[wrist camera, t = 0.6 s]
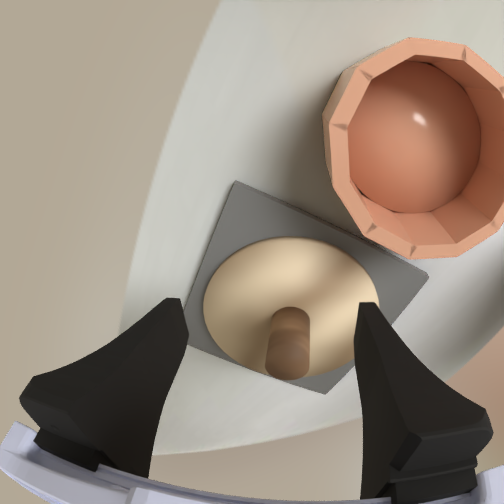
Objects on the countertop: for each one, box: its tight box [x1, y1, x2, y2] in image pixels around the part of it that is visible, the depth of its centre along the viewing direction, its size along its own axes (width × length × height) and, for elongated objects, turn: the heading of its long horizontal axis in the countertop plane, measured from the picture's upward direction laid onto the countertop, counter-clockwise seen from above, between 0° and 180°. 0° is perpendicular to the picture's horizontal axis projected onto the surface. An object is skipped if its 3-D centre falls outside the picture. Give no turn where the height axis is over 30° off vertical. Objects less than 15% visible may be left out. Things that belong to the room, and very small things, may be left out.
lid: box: [203, 236, 380, 380], centre depth 22 cm, size 13×13×5 cm
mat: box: [183, 181, 429, 394], centre depth 24 cm, size 15×15×1 cm
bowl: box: [322, 37, 504, 259], centre depth 15 cm, size 11×11×5 cm
